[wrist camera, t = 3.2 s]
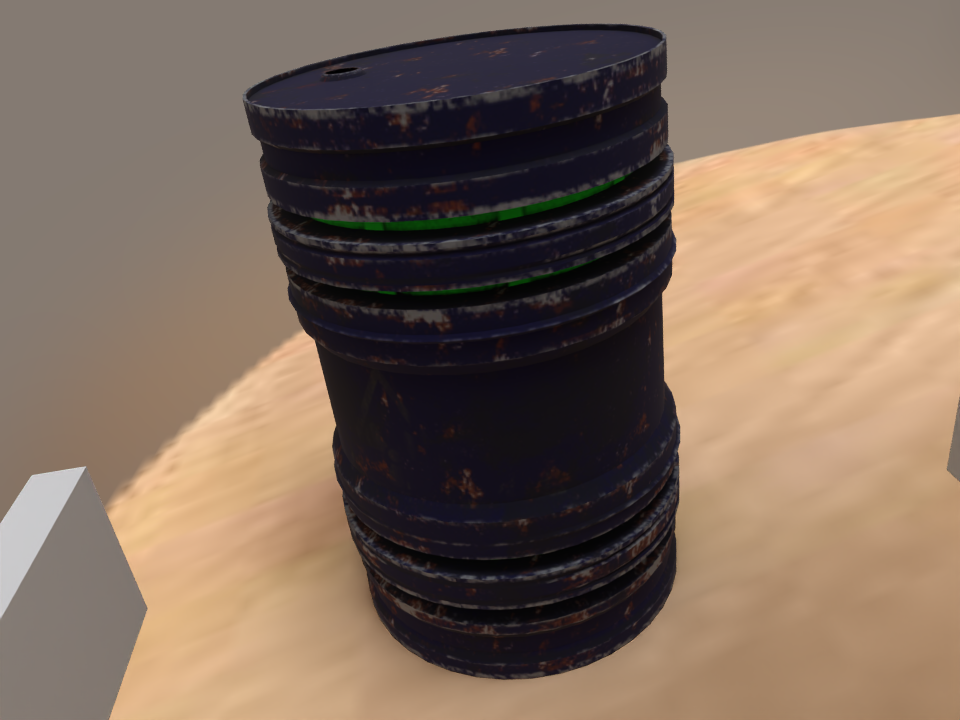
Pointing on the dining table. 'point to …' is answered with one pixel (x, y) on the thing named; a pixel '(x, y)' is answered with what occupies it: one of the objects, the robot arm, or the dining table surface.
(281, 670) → the dining table surface
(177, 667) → the dining table surface
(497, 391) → the dark blue ribbed cylinder
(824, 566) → the dining table surface
